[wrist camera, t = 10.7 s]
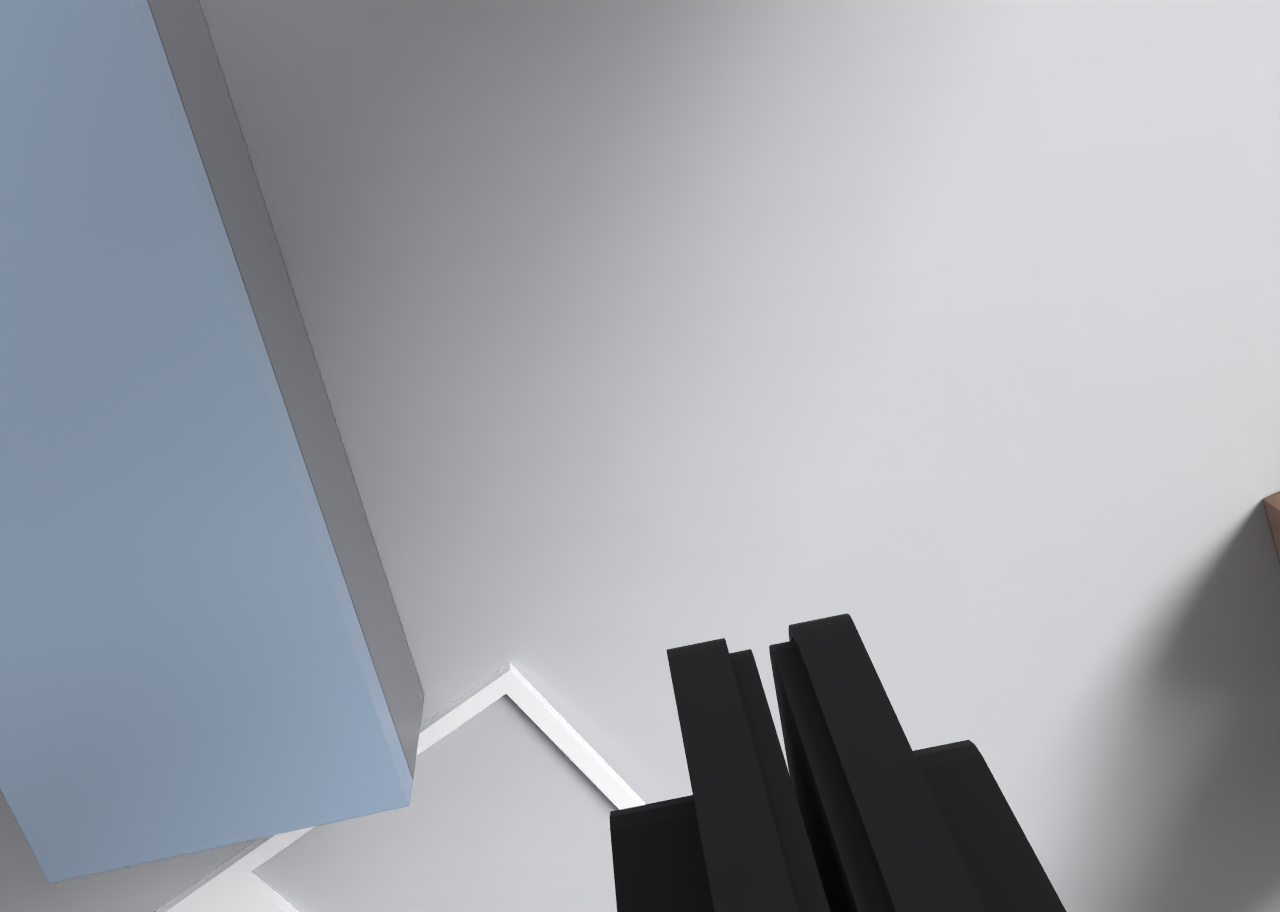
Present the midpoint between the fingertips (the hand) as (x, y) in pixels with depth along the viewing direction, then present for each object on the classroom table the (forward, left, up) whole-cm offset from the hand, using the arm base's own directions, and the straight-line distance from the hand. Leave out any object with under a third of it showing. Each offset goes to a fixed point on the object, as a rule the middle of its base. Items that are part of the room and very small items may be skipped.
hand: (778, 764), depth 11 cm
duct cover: (+2, -15, -23) cm, 28 cm away
